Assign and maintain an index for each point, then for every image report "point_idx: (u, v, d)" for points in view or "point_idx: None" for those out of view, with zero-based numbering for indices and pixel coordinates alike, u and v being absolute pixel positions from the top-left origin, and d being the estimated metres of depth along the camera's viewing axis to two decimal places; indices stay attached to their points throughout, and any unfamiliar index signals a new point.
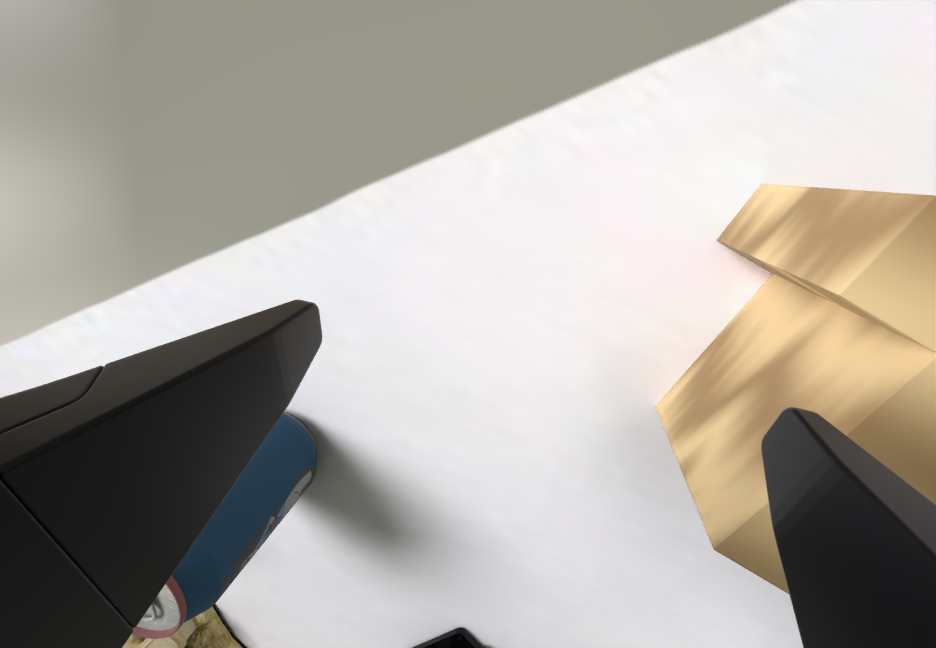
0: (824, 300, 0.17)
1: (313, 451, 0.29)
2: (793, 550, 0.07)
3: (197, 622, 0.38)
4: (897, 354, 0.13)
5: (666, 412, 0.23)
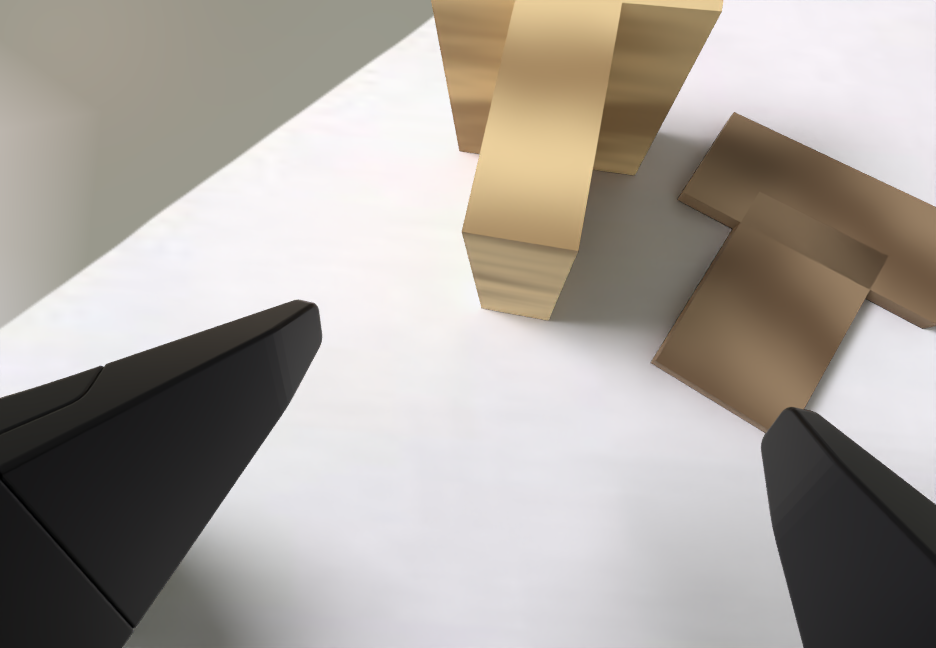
0: None
1: None
2: (793, 550, 0.07)
3: None
4: None
5: None
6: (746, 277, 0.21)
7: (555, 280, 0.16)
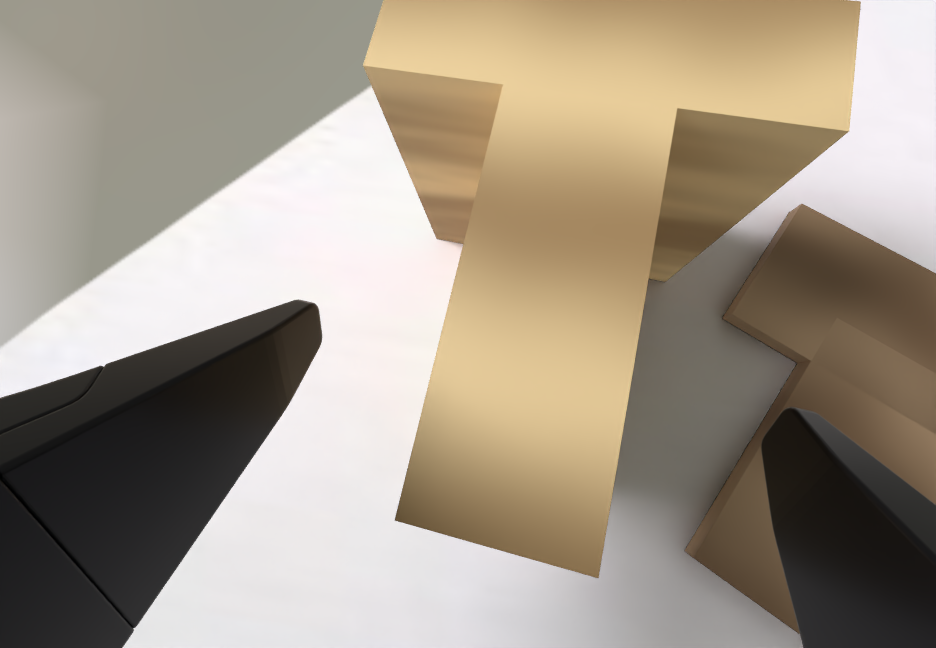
0: None
1: None
2: (793, 550, 0.07)
3: None
4: None
5: None
6: None
7: None
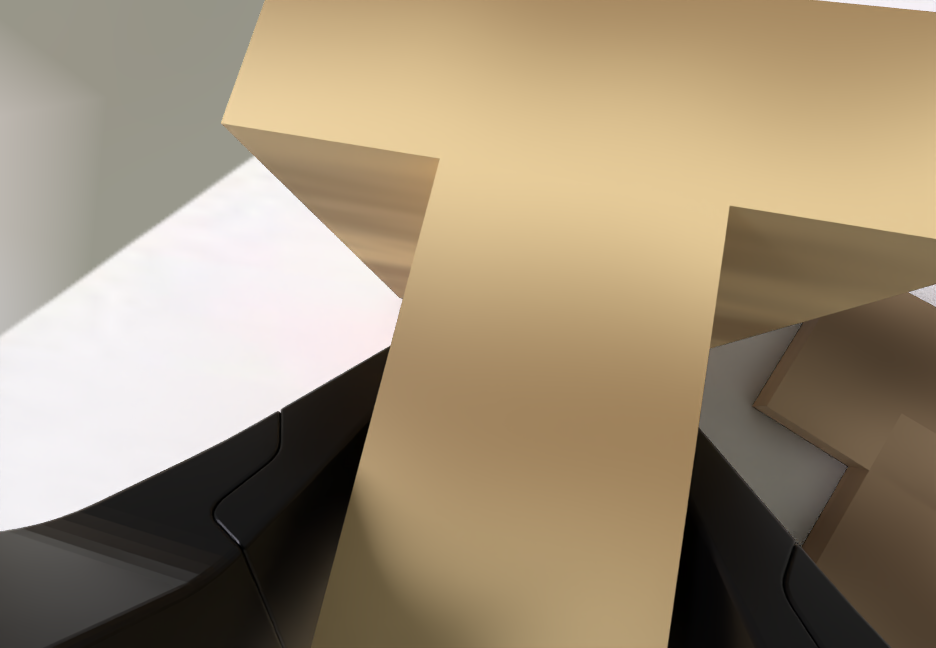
0: None
1: None
2: None
3: None
4: None
5: None
6: (881, 580, 0.12)
7: None
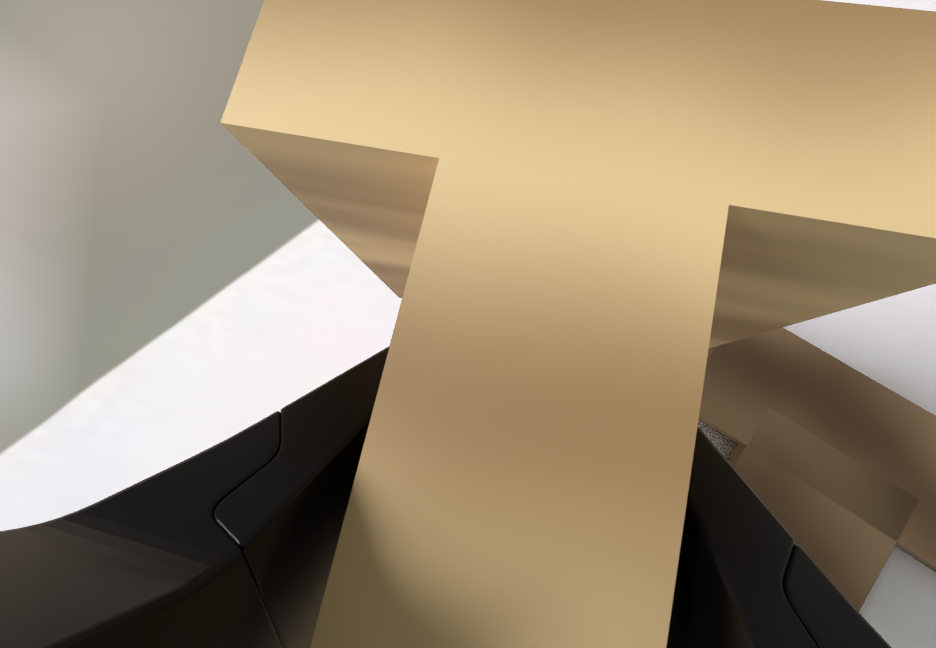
0: None
1: None
2: None
3: None
4: None
5: None
6: None
7: None
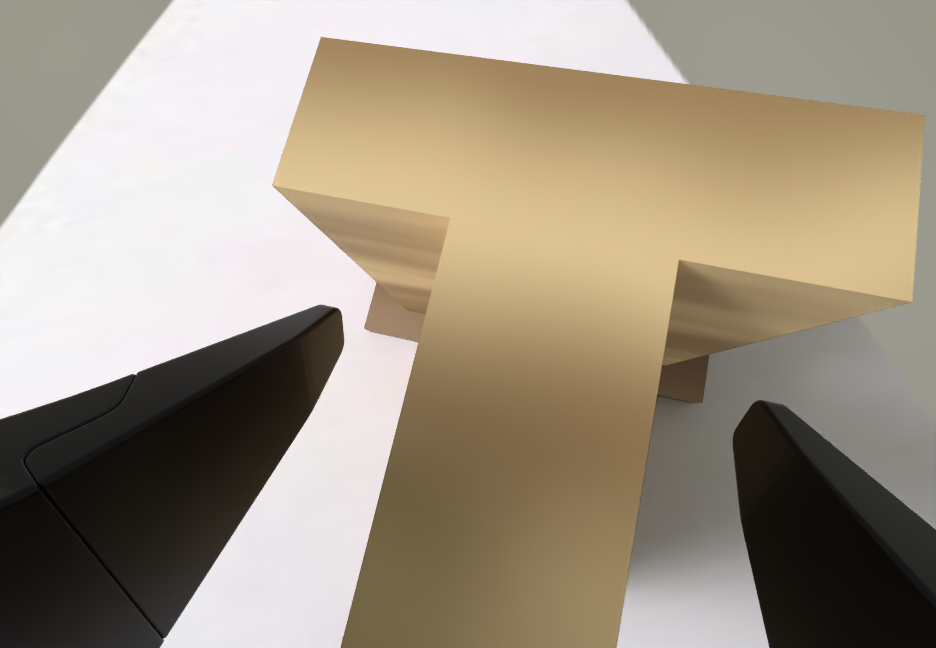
0: None
1: None
2: (759, 541, 0.07)
3: None
4: None
5: None
6: None
7: None
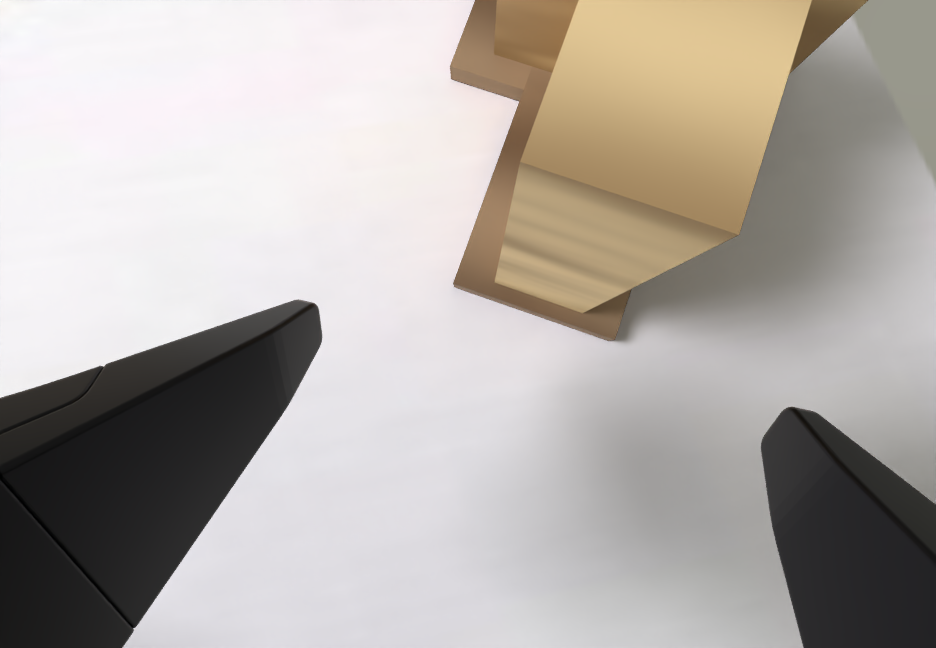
0: None
1: None
2: (793, 550, 0.07)
3: None
4: None
5: None
6: None
7: (640, 271, 0.10)
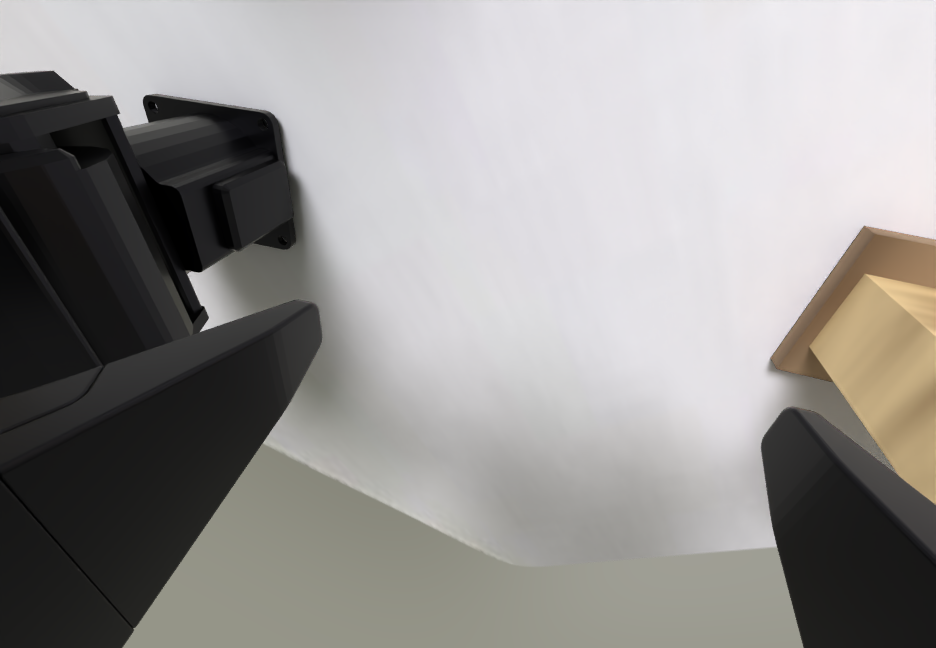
0: None
1: None
2: (793, 550, 0.07)
3: None
4: None
5: (898, 293, 0.15)
6: None
7: (910, 472, 0.13)
